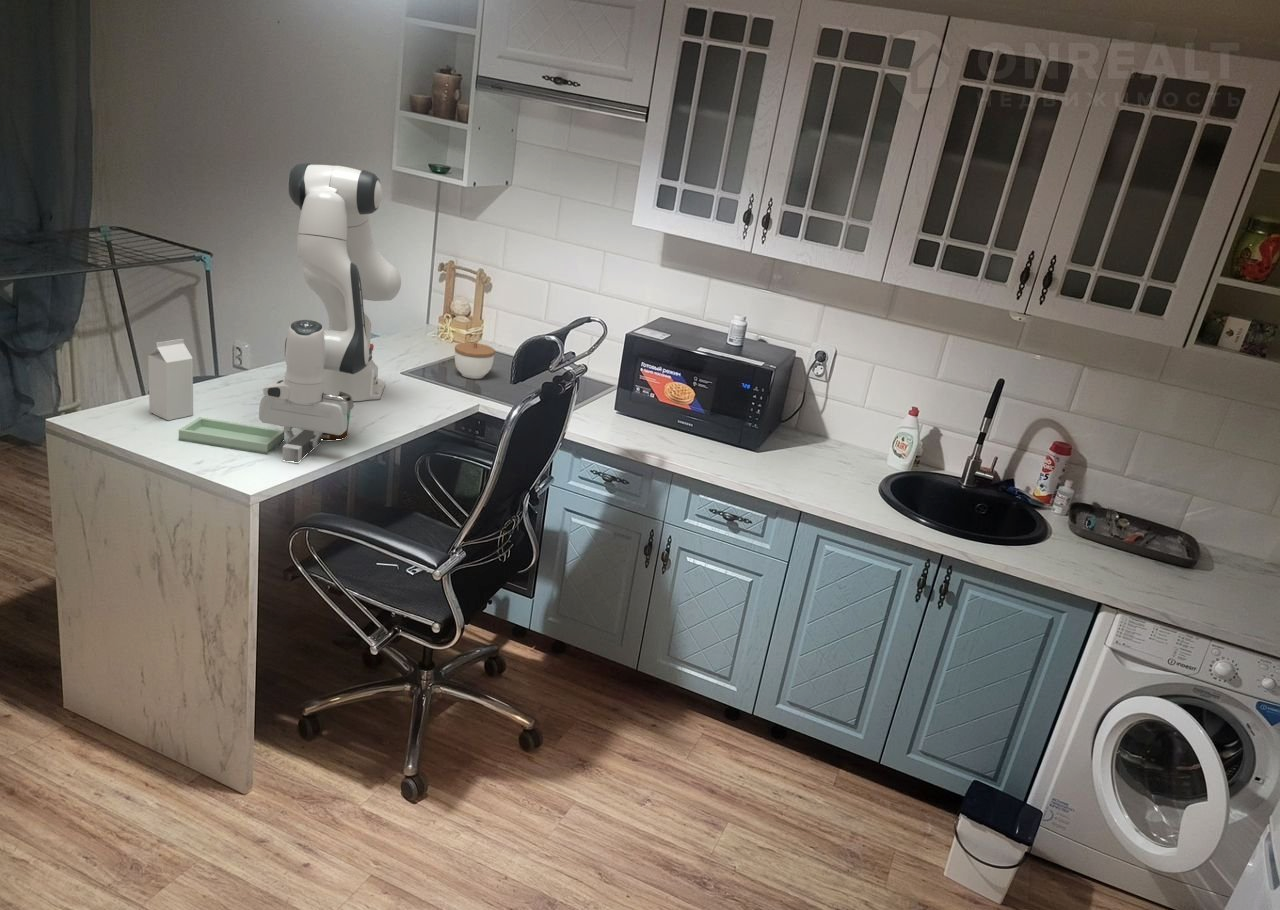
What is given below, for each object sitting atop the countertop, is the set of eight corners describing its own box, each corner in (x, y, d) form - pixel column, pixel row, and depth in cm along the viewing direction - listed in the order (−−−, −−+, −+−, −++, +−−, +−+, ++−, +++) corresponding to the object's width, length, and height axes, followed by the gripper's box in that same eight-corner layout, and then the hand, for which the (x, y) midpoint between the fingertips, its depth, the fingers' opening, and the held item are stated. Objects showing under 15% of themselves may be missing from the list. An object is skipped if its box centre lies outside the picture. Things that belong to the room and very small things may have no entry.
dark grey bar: (306, 440, 236) (307, 426, 234) (321, 442, 236) (322, 428, 234) (282, 461, 222) (282, 446, 220) (298, 463, 222) (298, 449, 220)
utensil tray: (199, 426, 233) (199, 417, 232) (284, 440, 233) (284, 430, 232) (178, 440, 224) (178, 430, 223) (267, 454, 224) (267, 444, 223)
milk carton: (193, 415, 239) (192, 342, 233) (167, 421, 233) (165, 346, 227) (175, 407, 242) (174, 335, 236) (149, 413, 236) (147, 339, 230)
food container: (337, 446, 235) (338, 408, 231) (314, 441, 236) (315, 403, 232) (360, 432, 246) (362, 395, 243) (338, 427, 247) (340, 390, 243)
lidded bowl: (445, 371, 306) (447, 337, 303) (478, 368, 315) (481, 336, 311) (466, 383, 298) (469, 349, 294) (499, 379, 307) (503, 346, 303)
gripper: (352, 393, 226) (350, 447, 231) (267, 380, 226) (266, 434, 231) (343, 401, 220) (341, 456, 225) (256, 387, 220) (255, 443, 225)
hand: (302, 445), depth 228 cm, fingers closed on dark grey bar, 3 cm apart
